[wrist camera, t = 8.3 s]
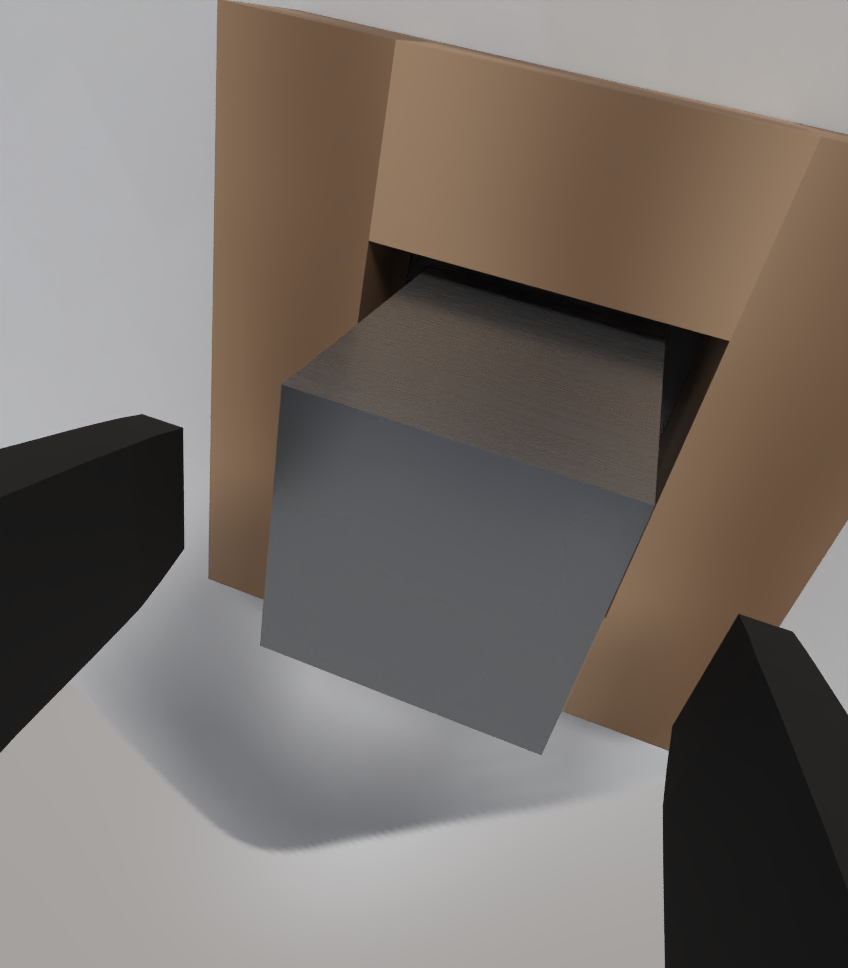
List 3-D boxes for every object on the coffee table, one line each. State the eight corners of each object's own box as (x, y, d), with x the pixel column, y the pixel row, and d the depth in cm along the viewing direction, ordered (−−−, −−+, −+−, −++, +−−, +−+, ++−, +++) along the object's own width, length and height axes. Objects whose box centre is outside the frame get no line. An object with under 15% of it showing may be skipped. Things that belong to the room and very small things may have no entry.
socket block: (262, 520, 18) (208, 579, 16) (296, 9, 12) (217, -1, 10) (691, 672, 16) (693, 760, 14) (983, 165, 10) (1059, 191, 8)
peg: (417, 428, 15) (260, 645, 10) (455, 245, 13) (281, 384, 8) (595, 487, 15) (541, 754, 9) (667, 304, 13) (654, 505, 7)
